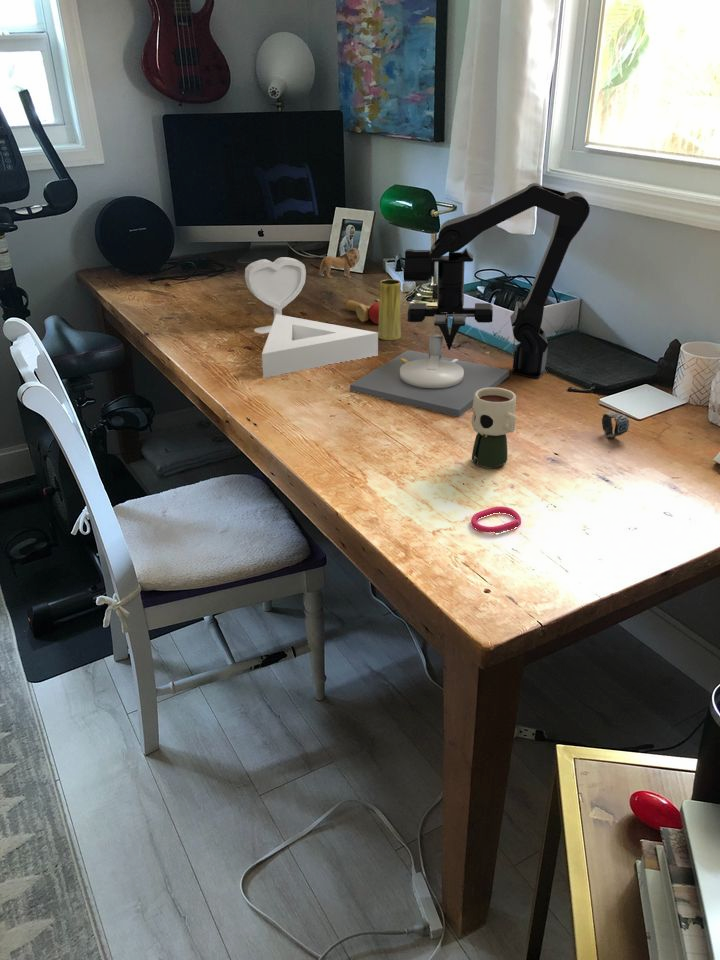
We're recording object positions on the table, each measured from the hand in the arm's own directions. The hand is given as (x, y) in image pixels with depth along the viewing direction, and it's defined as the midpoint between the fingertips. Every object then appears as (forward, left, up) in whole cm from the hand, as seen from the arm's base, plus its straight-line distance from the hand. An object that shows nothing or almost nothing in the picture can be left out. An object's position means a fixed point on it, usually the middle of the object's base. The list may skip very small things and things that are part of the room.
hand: (449, 349), depth 174 cm
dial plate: (-1, +10, -5) cm, 12 cm away
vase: (+23, -13, -5) cm, 27 cm away
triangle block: (+33, +14, -6) cm, 36 cm away
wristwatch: (-43, +16, -5) cm, 46 cm away
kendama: (+37, -24, -5) cm, 44 cm away
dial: (0, +8, -3) cm, 9 cm away
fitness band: (-36, +56, -5) cm, 67 cm away
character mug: (-27, +38, -5) cm, 47 cm away
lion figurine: (+68, -58, -5) cm, 89 cm away
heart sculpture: (+52, -4, -5) cm, 52 cm away
